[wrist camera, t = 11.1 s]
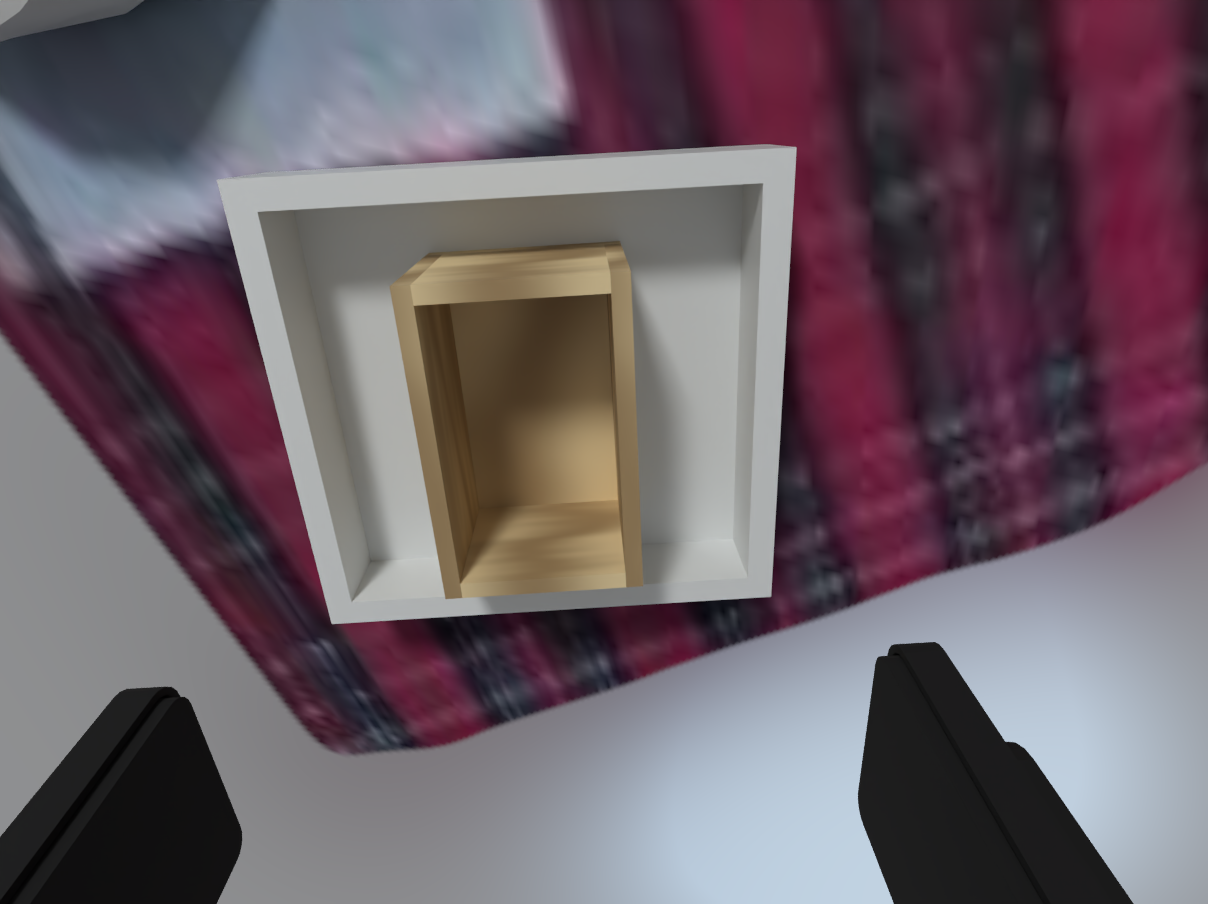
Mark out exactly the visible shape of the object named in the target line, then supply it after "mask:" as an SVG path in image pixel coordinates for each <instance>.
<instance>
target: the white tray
mask: <svg viewBox="0 0 1208 904" xmlns="http://www.w3.org/2000/svg"><path fill="white" fill-rule="evenodd" d="M796 148H797V147H790V146H779V145H769V144H760V145H742V146H724V147H707V148H689V149H671V150H653V151H635V152H618V153H600V154H582V155H564V156H547V157H529V158H511V159H493V160H475V161H458V162H440V163H422V164H404V165H386V166H369V167H351V168H333V169H315V170H297V171H280V172H266V173H259V174H252V175H246V176H239V177H232V178H225V179H219V180H217V183H218V186H219V190H220V194H221V198H222V202H223V206H224V210H225V213H226V217H227V221H228V225H229V229H230V233H231V237H232V240H233V244H234V248H235V252H236V256H237V260H238V264H239V267H240V271H241V275H242V279H243V283H244V287H245V291H246V295H247V298H248V302H249V306H250V310H251V314H252V318H253V322H254V325H255V329H256V333H257V337H258V341H259V345H260V349H261V352H262V356H263V360H264V364H265V368H266V372H267V376H268V380H269V383H270V387H271V391H272V395H273V399H274V403H275V407H276V410H277V414H278V418H279V422H280V426H281V430H282V434H283V437H284V441H285V445H286V449H287V453H288V457H289V461H290V464H291V468H292V472H293V476H294V480H295V484H296V488H297V492H298V495H299V499H300V503H301V507H302V511H303V515H304V519H305V522H306V526H307V530H308V534H309V538H310V542H311V546H312V549H313V553H314V557H315V561H316V565H317V569H318V573H319V576H320V580H321V584H322V588H323V592H324V596H325V600H326V604H327V607H328V611H329V615H330V619H331V623H332V624H340V623H356V622H372V621H388V620H404V619H421V618H437V617H453V616H469V615H485V614H501V613H518V612H534V611H550V610H566V609H582V608H598V607H614V606H631V605H647V604H663V603H679V602H695V601H711V600H728V599H744V598H760V597H771V590H772V573H773V555H774V537H775V520H776V502H777V484H778V467H779V449H780V431H781V414H782V396H783V378H784V360H785V343H786V325H787V307H788V290H789V272H790V254H791V237H792V219H793V201H794V184H795V166H796ZM613 241H620V243H621V245H622V248H623V251H624V254H625V256H626V259H627V262H628V265H629V267H630V270H631V286H632V311H633V337H634V363H635V388H636V414H637V440H638V465H639V491H640V517H641V542H642V568H643V586H640V587H624V588H609V589H594V590H578V591H563V592H548V593H532V594H517V595H502V596H487V597H471V598H456V599H445V594H444V588H443V583H442V577H441V571H440V566H439V560H438V555H437V549H436V544H435V538H434V532H433V527H432V521H431V516H430V510H429V505H428V499H427V493H426V488H425V482H424V477H423V471H422V466H421V460H420V454H419V449H418V443H417V438H416V432H415V427H414V421H413V415H412V410H411V404H410V399H409V393H408V387H407V382H406V376H405V371H404V365H403V360H402V354H401V348H400V343H399V337H398V332H397V326H396V321H395V315H394V309H393V304H392V298H391V293H390V287H389V286H390V285H392V284H393V283H394V282H395V281H396V280H398V279H399V278H400V277H401V276H402V275H403V274H405V273H406V272H407V271H408V270H409V269H410V268H412V267H413V266H414V265H415V264H416V263H417V262H419V261H420V260H421V259H422V258H423V257H425V256H426V255H427V254H428V253H435V252H451V251H467V250H484V249H500V248H516V247H532V246H548V245H564V244H580V243H597V242H613Z"/></svg>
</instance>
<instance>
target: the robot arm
mask: <svg viewBox="0 0 1208 904" xmlns="http://www.w3.org/2000/svg"><path fill="white" fill-rule="evenodd" d="M858 804H859V810H860V815H861V819H862V822H863V825H864V828H865V830H866V833H867V835H868V838H869V840H870V843H871V846H872V848H873V851H874V853H875V856H876V858H877V861H878V864H879V866H880V869H881V871H882V874H883V877H884V879H885V882H886V884H887V887H888V889H889V892H890V895H891V897H892V900H893V902H894V904H1133V902H1132V901H1131V900H1130V898H1129V897H1128V895H1127V894H1126V892H1125V891H1124V889H1123V888H1122V886H1121V885H1120V884H1119V882H1118V881H1117V879H1116V878H1115V877H1114V875H1113V873H1112V872H1111V870H1110V869H1109V868H1108V866H1107V865H1106V863H1105V862H1104V860H1103V859H1102V857H1101V856H1100V855H1099V853H1098V852H1097V850H1096V849H1095V847H1094V846H1093V844H1092V843H1091V842H1090V840H1089V839H1088V837H1087V836H1086V834H1085V833H1084V832H1083V830H1082V829H1081V827H1080V826H1079V824H1078V823H1077V821H1076V820H1075V818H1074V817H1073V816H1072V814H1071V813H1070V811H1069V810H1068V808H1067V807H1066V806H1065V804H1064V803H1063V801H1062V800H1061V798H1060V797H1059V795H1058V794H1057V792H1056V791H1055V790H1054V788H1053V787H1052V785H1051V784H1050V782H1049V781H1048V779H1047V778H1046V776H1045V775H1044V774H1043V772H1042V771H1041V770H1040V768H1039V766H1038V765H1037V763H1036V762H1035V761H1034V759H1033V758H1032V757H1031V756H1030V755H1029V753H1028V752H1027V751H1026V750H1025V749H1024V748H1023V747H1021V746H1020V745H1018V744H1017V743H1014V742H1005V741H1004V739H1003V738H1002V736H1001V735H1000V733H999V732H998V730H997V729H996V727H995V726H994V724H993V723H992V721H991V720H990V718H989V717H988V715H987V714H986V712H985V711H984V709H983V708H982V706H981V705H980V703H979V702H978V700H977V699H976V697H975V696H974V694H973V693H972V691H971V690H970V688H969V687H968V685H967V684H966V682H965V681H964V679H963V678H962V676H961V675H960V673H959V672H958V670H957V669H956V667H955V666H954V664H953V663H952V661H951V660H950V658H949V657H948V655H947V654H946V652H945V651H944V650H943V648H942V647H941V646H940V645H939V644H937V643H936V642H928V643H911V644H895V645H892V646H891V647H890V649H889V652H888V656H881V657H878V658H877V661H876V664H875V671H874V679H873V686H872V694H871V701H870V709H869V716H868V723H867V731H866V738H865V746H864V753H863V761H862V768H861V776H860V783H859V790H858ZM241 845H242V831H241V827H240V824H239V822H238V819H237V817H236V814H235V812H234V809H233V807H232V804H231V802H230V799H229V797H228V794H227V792H226V789H225V787H224V785H223V782H222V780H221V777H220V775H219V772H218V770H217V767H216V765H215V762H214V760H213V757H212V755H211V752H210V750H209V747H208V745H207V742H206V740H205V737H204V735H203V732H202V730H201V727H200V725H199V722H198V720H197V717H196V715H195V712H194V710H193V707H192V705H191V703H190V702H189V700H188V699H187V698H185V697H180V695H179V694H178V692H177V691H176V690H175V689H174V688H172V687H153V688H136V689H126V690H123V691H121V692H119V693H118V694H117V695H116V696H115V697H114V698H113V700H112V701H111V702H110V703H109V704H108V705H107V707H106V708H105V709H104V710H103V712H102V713H101V714H100V715H99V717H98V718H97V719H96V720H95V721H94V723H93V724H92V725H91V726H90V728H89V729H88V730H87V731H86V732H85V734H84V735H83V736H82V737H81V739H80V740H79V741H78V742H77V744H76V745H75V746H74V747H73V748H72V750H71V751H70V752H69V753H68V755H67V756H66V757H65V758H64V760H63V761H62V762H61V764H59V766H58V767H57V768H56V769H55V771H54V772H53V773H52V774H51V775H50V777H49V778H48V779H47V780H46V782H45V783H44V784H43V785H42V786H41V788H40V789H39V790H38V791H37V793H36V794H35V795H34V796H33V798H32V799H31V800H30V801H29V803H28V804H27V805H26V806H25V807H24V808H23V810H22V811H21V812H20V813H19V815H18V816H17V817H16V818H15V820H14V821H13V822H12V823H11V824H10V826H9V827H8V828H7V829H6V831H5V832H4V833H3V834H2V835H1V837H0V904H217V902H218V899H219V897H220V895H221V893H222V891H223V889H224V887H225V885H226V883H227V881H228V878H229V876H230V874H231V872H232V870H233V868H234V866H235V864H236V861H237V859H238V857H239V854H240V850H241Z"/></svg>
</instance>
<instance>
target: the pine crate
mask: <svg viewBox="0 0 1208 904" xmlns="http://www.w3.org/2000/svg"><path fill="white" fill-rule="evenodd" d="M389 287H390V293H391V298H392V304H393V309H394V315H395V321H396V326H397V332H398V337H399V343H400V348H401V354H402V360H403V365H404V371H405V376H406V382H407V387H408V393H409V399H410V404H411V410H412V415H413V421H414V427H415V432H416V438H417V443H418V449H419V454H420V460H421V466H422V471H423V477H424V482H425V488H426V493H427V499H428V505H429V510H430V516H431V521H432V527H433V532H434V538H435V544H436V549H437V555H438V560H439V566H440V571H441V577H442V583H443V588H444V594H445V599H456V598H471V597H487V596H502V595H517V594H532V593H548V592H563V591H578V590H594V589H609V588H624V587H640V586H643V568H642V542H641V517H640V491H639V465H638V440H637V414H636V388H635V363H634V337H633V311H632V286H631V270H630V267H629V265H628V262H627V259H626V256H625V254H624V251H623V248H622V245H621V243H620V241H613V242H597V243H580V244H564V245H548V246H532V247H516V248H500V249H484V250H467V251H451V252H435V253H428V254H427V255H426V256H425V257H423V258H422V259H421V260H420V261H419V262H417V263H416V264H415V265H414V266H413V267H412V268H410V269H409V270H408V271H407V272H406V273H405V274H403V275H402V276H401V277H400V278H399V279H398V280H396V281H395V282H394V283H393V284H392V285H390V286H389Z"/></svg>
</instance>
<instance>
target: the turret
mask: <svg viewBox="0 0 1208 904" xmlns="http://www.w3.org/2000/svg"><path fill="white" fill-rule="evenodd" d="M143 1H144V0H0V42H2V41H5V40H8V39H11V38H15V37H20V36H25V35H29V34H34V33H39V32H43V31H48V30H53V29H57V28H62V27H67V26H71V25H76V24H81V23H85V22H90V21H94V20H99V19H104V18H108V17H113V16H118V15H122V14H126V13H128V12H129V11H130V10H132V9H133V8H135V7H136V6H137V5H139V4H140V3H141V2H143Z"/></svg>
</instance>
